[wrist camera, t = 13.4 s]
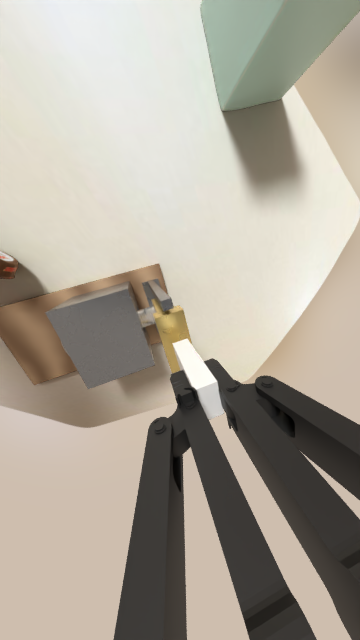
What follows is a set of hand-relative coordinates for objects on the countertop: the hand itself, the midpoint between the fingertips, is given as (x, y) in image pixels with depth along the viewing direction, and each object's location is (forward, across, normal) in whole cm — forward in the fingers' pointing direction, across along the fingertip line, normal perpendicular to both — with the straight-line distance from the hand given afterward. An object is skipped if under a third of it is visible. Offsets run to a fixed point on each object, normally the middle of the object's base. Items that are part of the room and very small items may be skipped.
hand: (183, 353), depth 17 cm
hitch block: (+19, -6, 0) cm, 20 cm away
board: (+20, -12, 0) cm, 23 cm away
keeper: (+11, 0, 0) cm, 11 cm away
